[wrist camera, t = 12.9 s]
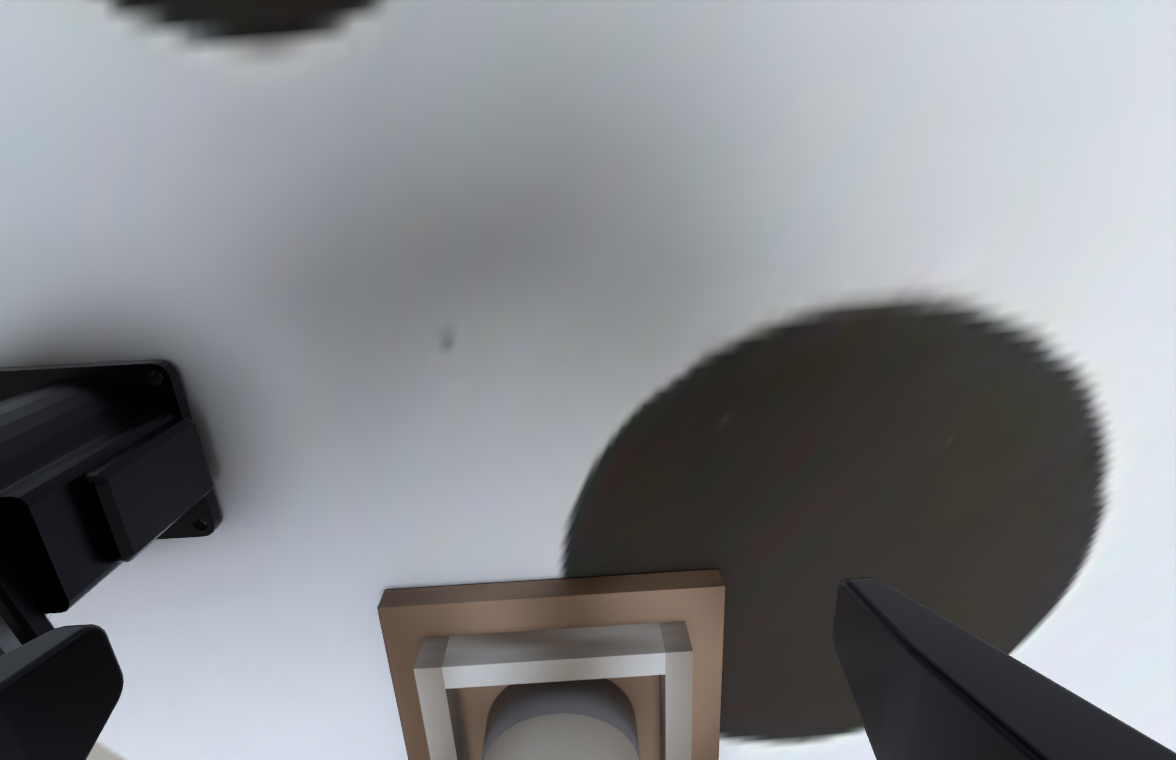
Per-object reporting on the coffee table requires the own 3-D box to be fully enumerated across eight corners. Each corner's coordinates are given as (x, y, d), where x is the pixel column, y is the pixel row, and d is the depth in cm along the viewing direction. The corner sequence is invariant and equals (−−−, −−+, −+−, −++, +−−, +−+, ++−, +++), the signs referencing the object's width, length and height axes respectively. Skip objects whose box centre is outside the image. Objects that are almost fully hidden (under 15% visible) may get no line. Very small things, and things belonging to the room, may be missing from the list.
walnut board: (430, 821, 27) (417, 883, 24) (385, 589, 22) (364, 638, 20) (710, 801, 27) (724, 861, 25) (718, 569, 23) (736, 614, 20)
